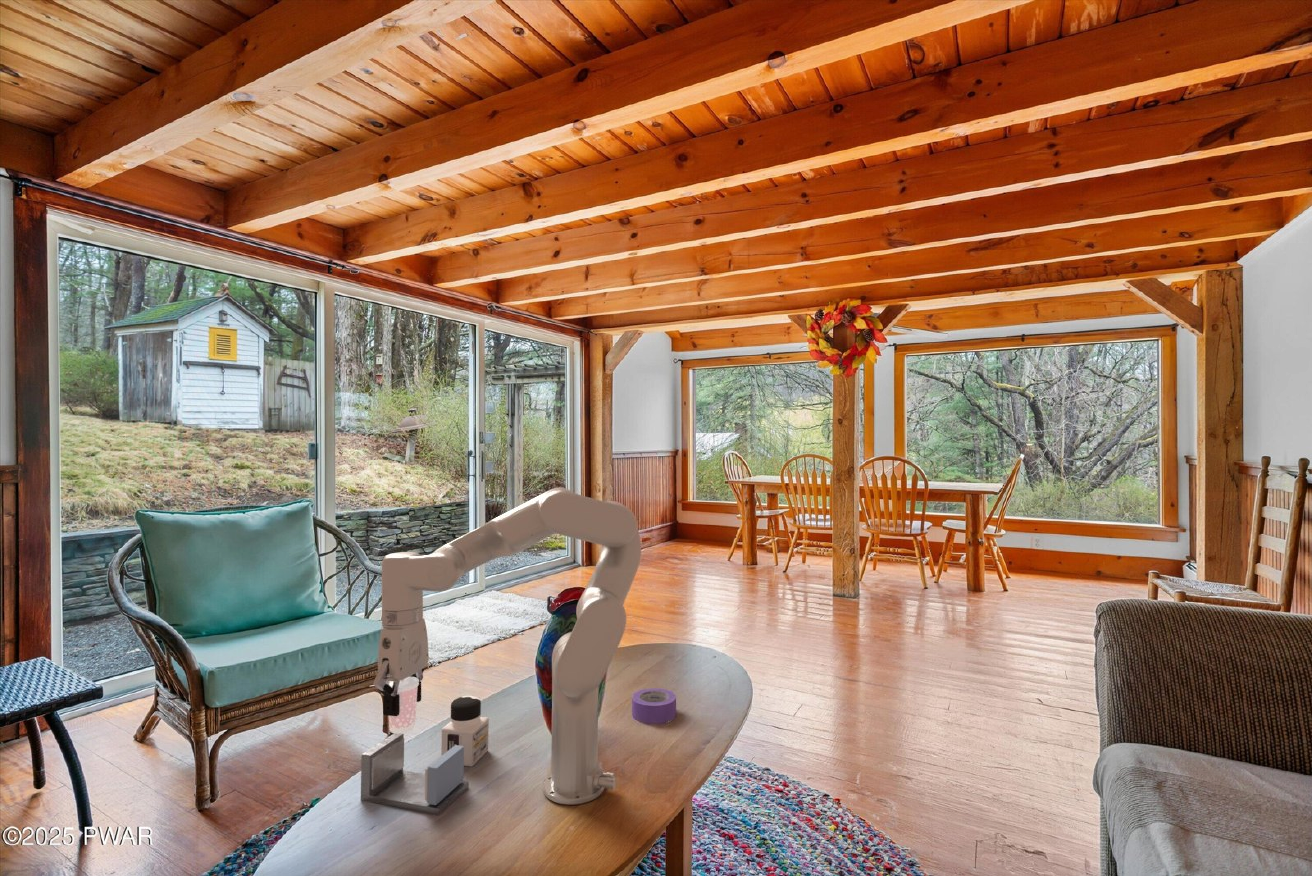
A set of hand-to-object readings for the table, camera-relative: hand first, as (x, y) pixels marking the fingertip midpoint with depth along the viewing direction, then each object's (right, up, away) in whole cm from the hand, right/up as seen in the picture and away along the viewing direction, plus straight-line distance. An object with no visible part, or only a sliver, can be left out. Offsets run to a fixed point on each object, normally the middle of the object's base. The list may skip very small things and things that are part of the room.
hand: (402, 707), depth 120 cm
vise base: (+1, -19, +4) cm, 19 cm away
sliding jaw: (+8, -18, +2) cm, 19 cm away
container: (+6, -20, +19) cm, 28 cm away
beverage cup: (0, -4, 0) cm, 4 cm away
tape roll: (+49, -21, +42) cm, 68 cm away
